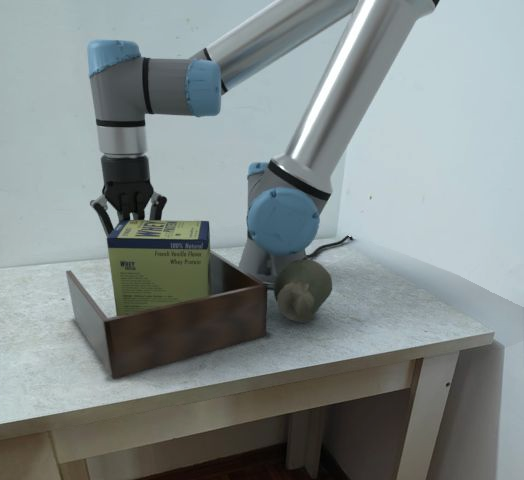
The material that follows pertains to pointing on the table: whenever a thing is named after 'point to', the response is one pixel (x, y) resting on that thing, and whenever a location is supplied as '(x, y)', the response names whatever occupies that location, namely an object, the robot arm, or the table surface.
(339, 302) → the table surface
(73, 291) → the compartment
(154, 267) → the protein box
